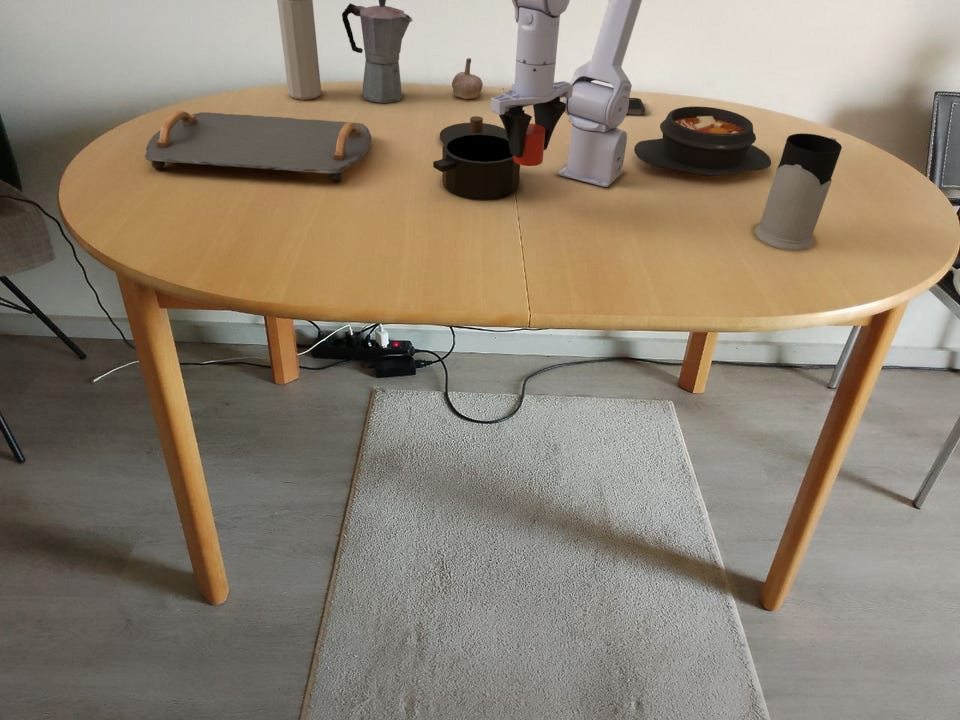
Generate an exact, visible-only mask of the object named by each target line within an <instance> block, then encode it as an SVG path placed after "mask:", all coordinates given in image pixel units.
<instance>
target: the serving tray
mask: <svg viewBox="0 0 960 720" xmlns="http://www.w3.org/2000/svg"><path fill="white" fill-rule="evenodd" d="M372 138H373V136H372V134H371V132H370V130H369V128H368V126H366V125H365V124H364V123H360V122H352V121H351V122H349V121H333V120H325V119H306V118H305V119H302V118H293V117H283V116H266V115H265V116H264V115H252V114H233V113H222V112H206V111H205V112H196V113H192V114H189V112H187V111H185V110H177V111H175V112H172V113H171V114H170V115H169V116H167V117H166V118H165V120H164V121H163V123H162V125H161V128H160V129H159V130H158V131H157V132H156V133H155V134H153V135H152V137H151V138H150V139H149V141H148V143H147V145H146V147H145V155H144V158H145V160H146V161H148V162H150V164H151V166H152V167H153V168H154V170H155V171H162V170H165V169H164V168H165V165H166V163H175V164H191V165H202V166H203V165H204V166H216V167H217V166H218V167H232V168H233V167H234V168H244V169H245V168H247V169H257V170H259V169H260V170H271V171H272V170H273V171H288V172H300V173H301V172H302V173H314V174H315V173H317V174H329V175H328V178H329V180H330V181H331V183H332V184H339V183H340V182H341V181H342V178H343V174H342V172H344V171H346V170H348V169H350V168H351V167H352V166H354V165H356V164H357V163H358V162H360V161H361V160H362V158H363V157H365V155H366V154H367V153H368V152H369V151H370V150H371V146H372Z"/></svg>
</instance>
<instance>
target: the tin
mask: <svg viewBox="0 0 960 720" xmlns="http://www.w3.org/2000/svg"><path fill="white" fill-rule="evenodd" d="M545 131H546V130H545V128H544V127H543V126H540V125H537V124H535V123H529V126H528V128H527V132H526V136H525V144H524V152H523V155H522V157H519V158H518V157H516V156H513V160H514V162H515V163H517V164H519V165H520V166H524V167H537V166H539V165H541V164H542V163H543V161H544V153H545V150H544V142H545Z"/></svg>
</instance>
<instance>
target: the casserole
mask: <svg viewBox="0 0 960 720" xmlns="http://www.w3.org/2000/svg"><path fill="white" fill-rule="evenodd" d="M659 129H660V131H661V133H662V137H661V138H655V139H646V140H641V141H638V142H637V143H636V144H635V145H634V148H633V151H634V153H635V155H636V156H637V158H639V159H640V160H641V161H643V162H644V163H645V164H648V166H649V165H650V166H652V167H657V168H662V169H669V170H676V171H680V172H684V173H687V174H691V175H694V176H695V175H696V176H702V177H704V176H705V177H727V176H735V175H739V174H742V173H746V172H752V171H760V170H766V169H768V168H770V167H771V166H772V159H771V158H770V156H769V155H768V154H767V153H766V151H764V150H763V149H761V148H759V147H758V146H756V145H753V144H754V143H755V142H756V140H757V136H756V134H755V132H754V124H753V123H752V120H750V119H749V118H747V117H745V116H744V115H742V114H739V113H737V112H734V111H731V110H727V109H723V108H717V107H710V106H682V107H678V108H675V109H672V110H671V111H669V112H668V114H667V116H666V117H665V119H664V120H662V121H661V123H660V125H659Z"/></svg>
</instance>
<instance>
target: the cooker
mask: <svg viewBox="0 0 960 720" xmlns="http://www.w3.org/2000/svg"><path fill="white" fill-rule="evenodd" d="M441 154H442V158H441V159H437V160H434V161H432V167H433V168H434V169H435V170H438V171H439V172H441V180H442V185H443V188H444V189H445V190H446V191H448V193H450V194H452V195H454V196H457V197H459V198H463V199H468V200H475V201H492V200H500V199H504V198H507V197H509V196H511V195H514V194H515V193H516V192H517V191H518V189H519V186H520V185H519V183H520V175H521V174H520V173H521V165H519V164H517V163H515V162H514V160H513V156H514V155H512V154H510V148H509V143H508V138H507V137H503V136H499V135H494V134H483V133H474V134H463V135H459V136H455V137H452V138H451V139H449V140H447V141H446V142H445V143H443V145H442V153H441Z"/></svg>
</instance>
